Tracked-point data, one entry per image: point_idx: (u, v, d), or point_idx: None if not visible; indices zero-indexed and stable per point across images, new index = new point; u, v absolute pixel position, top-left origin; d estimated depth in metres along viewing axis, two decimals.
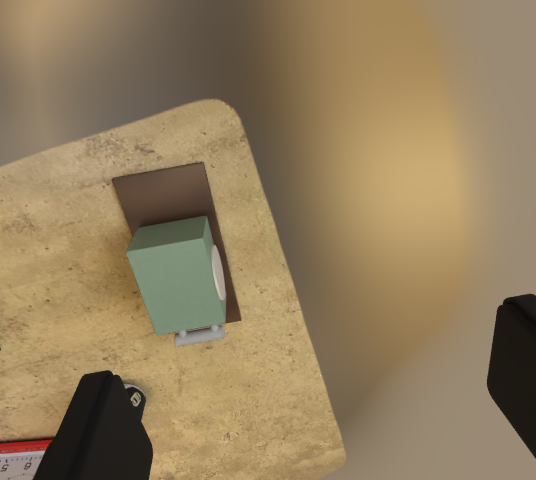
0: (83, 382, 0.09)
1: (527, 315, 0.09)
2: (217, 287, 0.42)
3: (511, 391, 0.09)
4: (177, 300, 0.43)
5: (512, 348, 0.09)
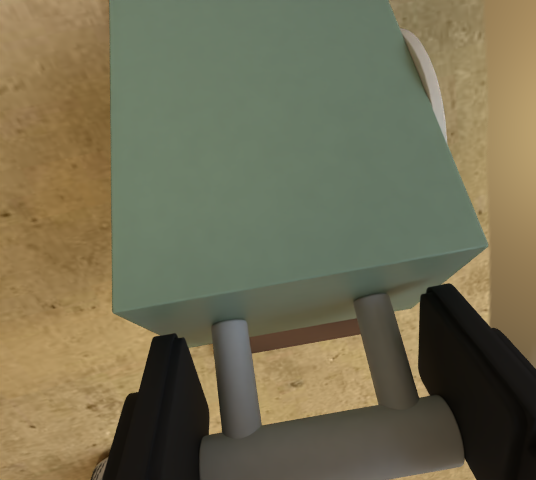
0: (155, 342, 0.09)
1: (443, 302, 0.09)
2: (425, 60, 0.10)
3: (433, 373, 0.10)
4: (249, 124, 0.10)
5: (431, 333, 0.10)
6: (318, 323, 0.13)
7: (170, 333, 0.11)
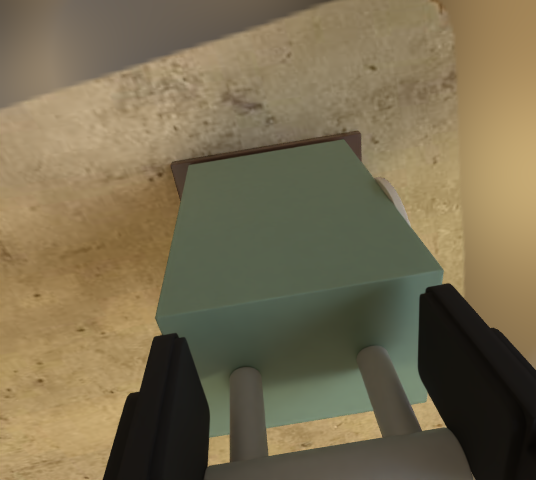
0: (156, 342, 0.09)
1: (442, 302, 0.09)
2: (388, 185, 0.15)
3: (432, 373, 0.10)
4: (268, 220, 0.14)
5: (430, 333, 0.10)
6: (333, 412, 0.14)
7: None
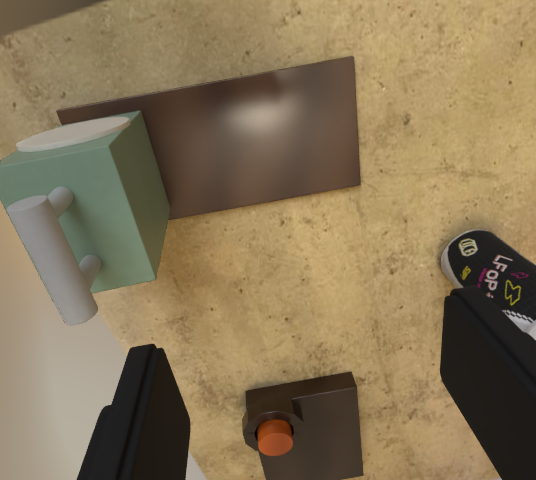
0: (131, 354, 0.09)
1: (469, 305, 0.09)
2: (21, 142, 0.23)
3: (458, 377, 0.10)
4: None
5: (456, 336, 0.09)
6: (124, 208, 0.21)
7: (103, 286, 0.23)
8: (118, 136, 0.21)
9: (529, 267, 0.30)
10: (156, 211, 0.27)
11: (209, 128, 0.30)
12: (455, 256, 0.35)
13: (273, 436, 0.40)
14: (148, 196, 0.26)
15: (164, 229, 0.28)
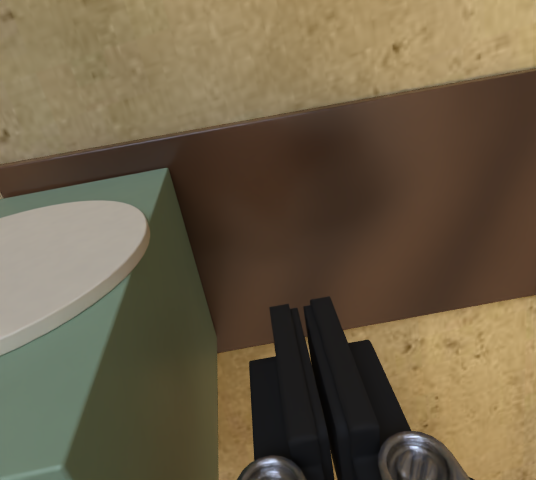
0: (273, 312, 0.10)
1: (318, 315, 0.10)
2: None
3: (316, 383, 0.10)
4: None
5: (310, 345, 0.10)
6: None
7: None
8: (114, 327, 0.06)
9: None
10: (204, 407, 0.12)
11: (303, 199, 0.15)
12: None
13: None
14: (190, 397, 0.10)
15: (216, 424, 0.13)
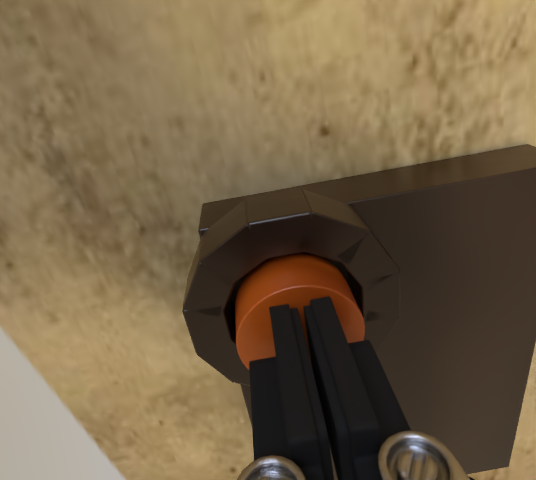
0: (273, 312, 0.10)
1: (318, 315, 0.10)
2: None
3: (316, 383, 0.10)
4: None
5: (310, 344, 0.10)
6: None
7: None
8: None
9: None
10: None
11: None
12: None
13: (293, 300, 0.10)
14: None
15: None
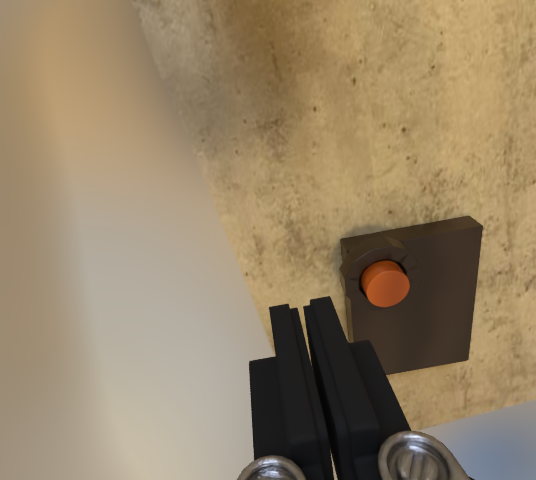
0: (273, 312, 0.10)
1: (318, 315, 0.10)
2: None
3: (316, 383, 0.10)
4: None
5: (310, 344, 0.10)
6: None
7: None
8: None
9: None
10: None
11: None
12: None
13: (387, 275, 0.32)
14: None
15: None
